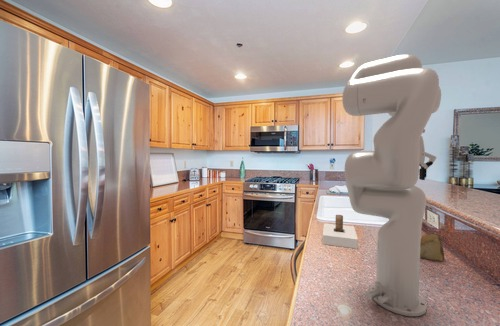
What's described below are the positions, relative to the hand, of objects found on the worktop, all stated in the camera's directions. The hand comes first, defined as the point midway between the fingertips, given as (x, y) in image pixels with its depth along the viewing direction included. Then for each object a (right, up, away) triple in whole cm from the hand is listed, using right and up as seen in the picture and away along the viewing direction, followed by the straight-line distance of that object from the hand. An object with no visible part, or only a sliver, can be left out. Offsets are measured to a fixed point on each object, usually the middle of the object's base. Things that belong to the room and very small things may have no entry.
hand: (406, 179), depth 81 cm
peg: (-16, -30, +21) cm, 40 cm away
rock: (+10, -31, +3) cm, 32 cm away
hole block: (-16, -30, +21) cm, 40 cm away
